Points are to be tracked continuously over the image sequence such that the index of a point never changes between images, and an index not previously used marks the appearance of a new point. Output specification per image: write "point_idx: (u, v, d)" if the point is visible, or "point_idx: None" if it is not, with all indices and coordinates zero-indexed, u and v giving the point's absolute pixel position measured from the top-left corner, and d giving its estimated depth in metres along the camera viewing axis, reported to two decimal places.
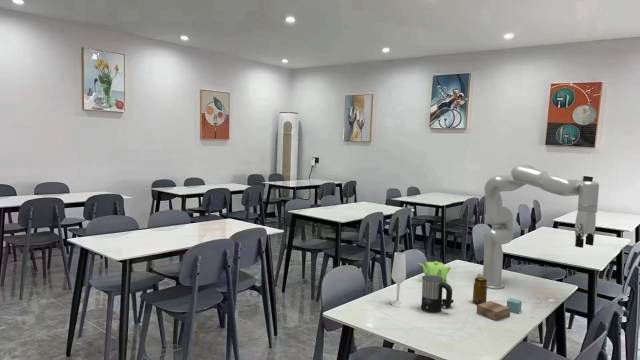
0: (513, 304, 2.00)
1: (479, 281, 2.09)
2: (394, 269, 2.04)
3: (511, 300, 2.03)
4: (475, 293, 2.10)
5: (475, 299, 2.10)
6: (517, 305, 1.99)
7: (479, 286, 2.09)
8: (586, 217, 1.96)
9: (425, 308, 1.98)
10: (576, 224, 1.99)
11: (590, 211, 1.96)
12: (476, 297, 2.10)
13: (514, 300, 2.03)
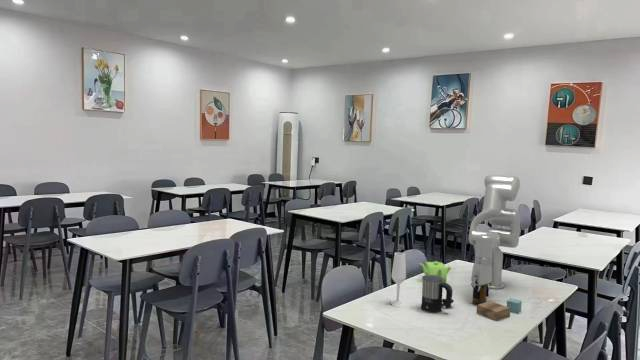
0: (513, 304, 2.00)
1: None
2: (394, 269, 2.04)
3: (511, 300, 2.03)
4: None
5: (475, 299, 2.10)
6: (517, 305, 1.99)
7: None
8: (480, 269, 2.06)
9: (425, 308, 1.99)
10: (472, 275, 2.09)
11: (484, 264, 2.06)
12: None
13: (514, 300, 2.03)
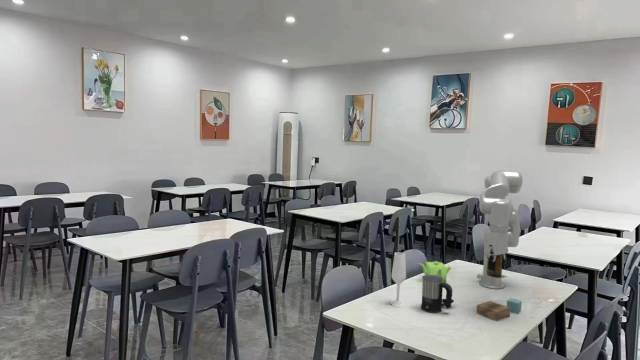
0: (513, 304, 2.00)
1: None
2: (394, 269, 2.04)
3: (511, 300, 2.03)
4: None
5: (489, 270, 1.95)
6: (517, 305, 1.99)
7: None
8: (496, 238, 1.90)
9: (425, 308, 1.99)
10: (487, 245, 1.93)
11: (500, 232, 1.90)
12: None
13: (514, 300, 2.03)
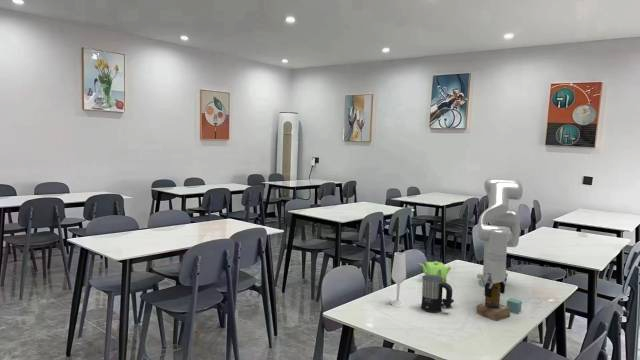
0: (513, 304, 2.00)
1: None
2: (394, 269, 2.04)
3: (511, 300, 2.03)
4: None
5: (487, 301, 1.96)
6: (517, 305, 1.99)
7: (492, 288, 1.94)
8: (494, 266, 1.91)
9: (425, 308, 1.99)
10: (485, 273, 1.94)
11: (498, 260, 1.91)
12: (489, 299, 1.95)
13: (514, 300, 2.03)
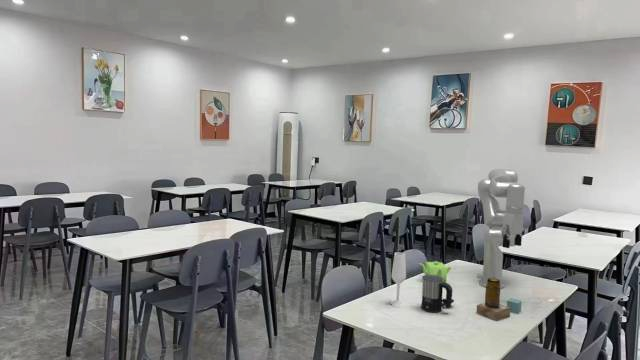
0: (513, 304, 2.00)
1: (492, 282, 1.95)
2: (394, 269, 2.04)
3: (511, 300, 2.03)
4: (487, 295, 1.96)
5: (487, 301, 1.96)
6: (517, 305, 1.99)
7: (492, 288, 1.94)
8: (512, 219, 2.03)
9: (426, 308, 1.99)
10: (503, 225, 2.06)
11: (516, 213, 2.03)
12: (489, 299, 1.95)
13: (514, 300, 2.03)
